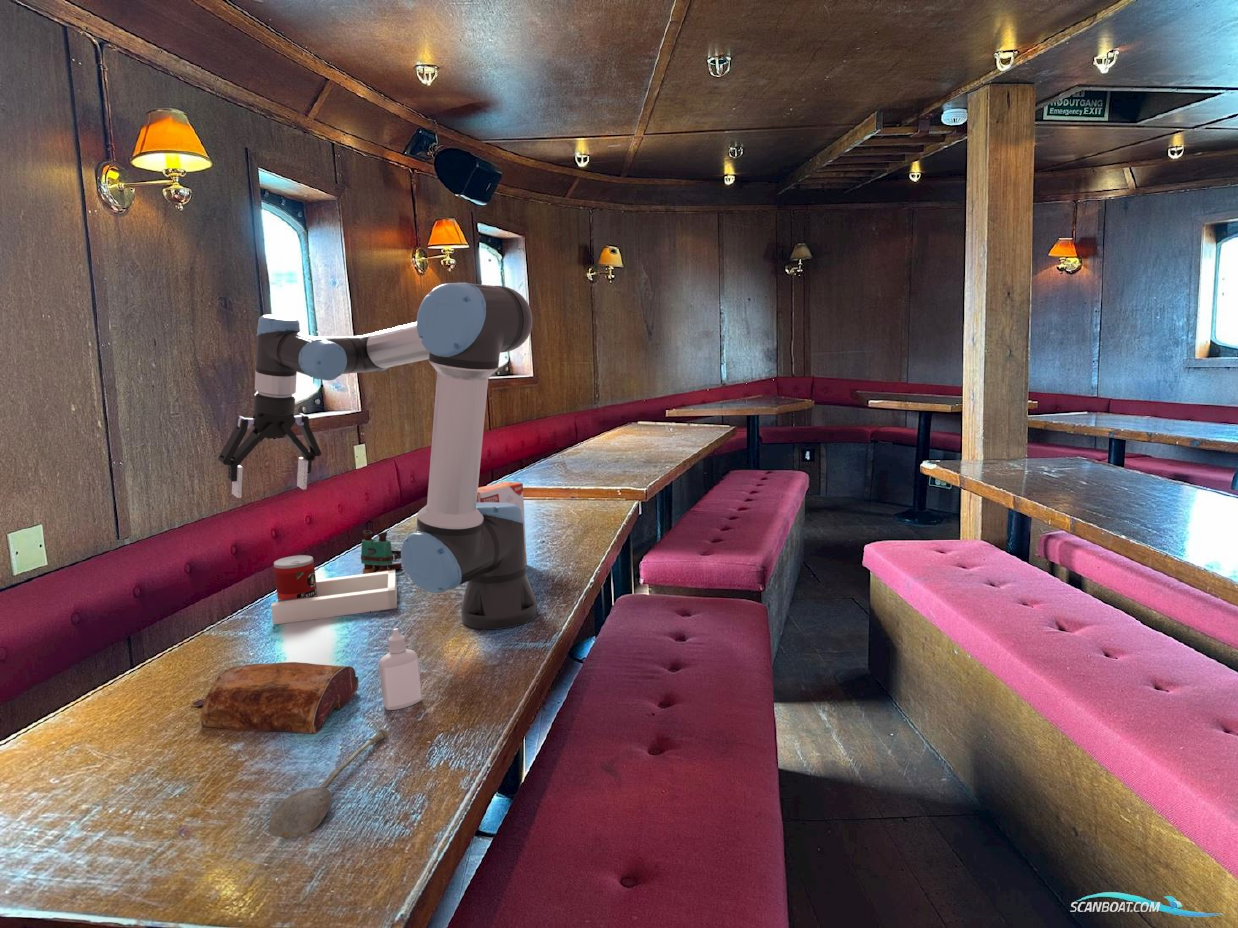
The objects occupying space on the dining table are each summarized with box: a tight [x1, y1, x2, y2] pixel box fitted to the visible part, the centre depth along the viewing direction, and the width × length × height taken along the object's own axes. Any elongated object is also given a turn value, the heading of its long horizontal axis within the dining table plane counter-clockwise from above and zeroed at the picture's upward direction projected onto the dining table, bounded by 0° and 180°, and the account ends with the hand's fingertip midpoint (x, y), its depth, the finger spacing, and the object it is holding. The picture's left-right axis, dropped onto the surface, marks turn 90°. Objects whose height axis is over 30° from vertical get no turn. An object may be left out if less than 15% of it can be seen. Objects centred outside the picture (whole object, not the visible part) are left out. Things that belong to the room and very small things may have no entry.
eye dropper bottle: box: [378, 627, 423, 711], centre depth 113 cm, size 4×6×12 cm
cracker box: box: [477, 481, 528, 566], centre depth 178 cm, size 14×6×21 cm, turn 143°
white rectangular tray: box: [270, 569, 398, 626], centre depth 160 cm, size 15×24×4 cm, turn 106°
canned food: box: [273, 554, 318, 602], centre depth 157 cm, size 8×8×11 cm
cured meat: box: [191, 661, 359, 734], centre depth 116 cm, size 18×25×7 cm
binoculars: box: [360, 530, 403, 574], centre depth 184 cm, size 9×11×10 cm
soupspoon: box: [268, 728, 389, 838], centre depth 93 cm, size 22×3×7 cm
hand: (270, 491), depth 156 cm, fingers open, 13 cm apart
